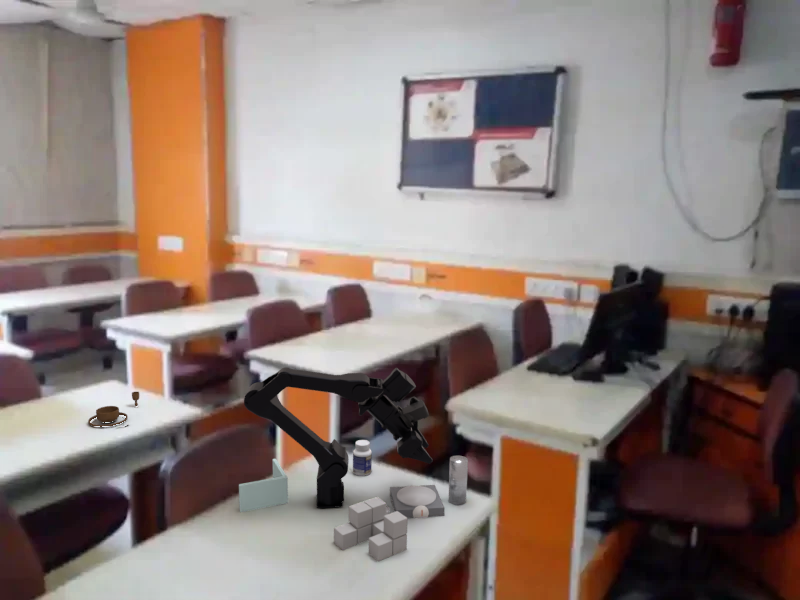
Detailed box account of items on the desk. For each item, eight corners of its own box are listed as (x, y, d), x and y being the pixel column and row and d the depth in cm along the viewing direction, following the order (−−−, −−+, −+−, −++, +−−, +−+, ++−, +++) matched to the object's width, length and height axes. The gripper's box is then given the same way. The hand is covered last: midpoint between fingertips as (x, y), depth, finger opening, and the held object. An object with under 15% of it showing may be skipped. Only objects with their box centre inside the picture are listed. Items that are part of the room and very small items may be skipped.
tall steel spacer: (450, 505, 166) (452, 463, 163) (446, 496, 170) (448, 455, 168) (468, 504, 166) (469, 462, 164) (463, 495, 171) (465, 455, 169)
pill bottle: (368, 477, 180) (369, 447, 178) (350, 475, 181) (350, 445, 179) (373, 469, 185) (373, 439, 183) (355, 467, 186) (355, 438, 184)
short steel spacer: (372, 525, 156) (372, 513, 155) (370, 515, 160) (370, 504, 159) (390, 524, 156) (390, 512, 156) (387, 514, 161) (388, 503, 160)
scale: (396, 522, 159) (396, 507, 158) (389, 498, 171) (390, 483, 170) (444, 519, 160) (445, 505, 160) (434, 495, 172) (434, 481, 172)
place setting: (79, 420, 217) (78, 403, 216) (137, 406, 232) (136, 390, 230) (100, 435, 205) (99, 417, 204) (160, 419, 220) (159, 403, 219)
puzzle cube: (333, 542, 148) (333, 511, 147) (376, 526, 155) (376, 496, 154) (362, 568, 139) (363, 534, 137) (407, 550, 146) (407, 517, 144)
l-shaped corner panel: (276, 484, 176) (275, 458, 175) (287, 504, 165) (287, 477, 164) (231, 492, 171) (230, 466, 170) (240, 514, 160) (239, 486, 159)
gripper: (413, 404, 152) (457, 448, 155) (407, 380, 171) (447, 419, 174) (379, 436, 153) (424, 479, 156) (377, 408, 172) (417, 447, 175)
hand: (429, 454), depth 165 cm, fingers open, 9 cm apart
